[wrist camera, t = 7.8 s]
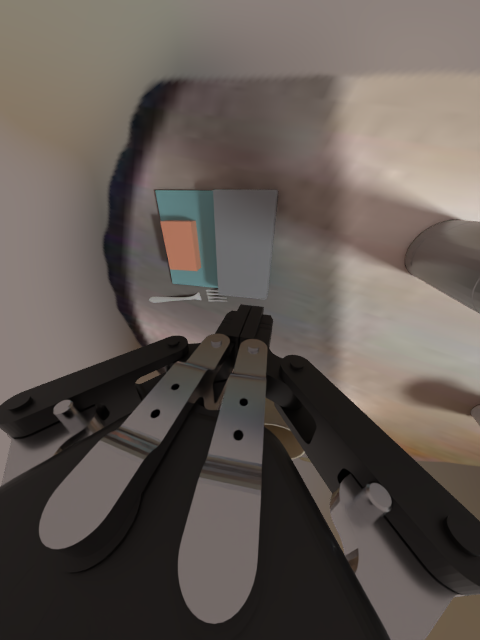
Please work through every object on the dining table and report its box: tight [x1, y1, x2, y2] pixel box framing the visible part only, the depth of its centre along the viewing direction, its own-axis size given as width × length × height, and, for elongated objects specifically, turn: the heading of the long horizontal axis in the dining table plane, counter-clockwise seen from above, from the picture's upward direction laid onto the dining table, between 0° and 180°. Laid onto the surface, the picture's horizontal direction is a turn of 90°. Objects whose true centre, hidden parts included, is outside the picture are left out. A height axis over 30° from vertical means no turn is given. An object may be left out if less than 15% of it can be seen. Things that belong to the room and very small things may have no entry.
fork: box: [149, 289, 226, 303], centre depth 46 cm, size 3×24×2 cm, turn 100°
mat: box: [155, 190, 218, 288], centre depth 38 cm, size 12×18×1 cm, turn 179°
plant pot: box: [264, 398, 305, 459], centre depth 49 cm, size 15×15×16 cm
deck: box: [213, 189, 278, 300], centre depth 35 cm, size 10×18×4 cm, turn 179°
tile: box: [160, 220, 201, 271], centre depth 38 cm, size 6×9×2 cm, turn 0°
